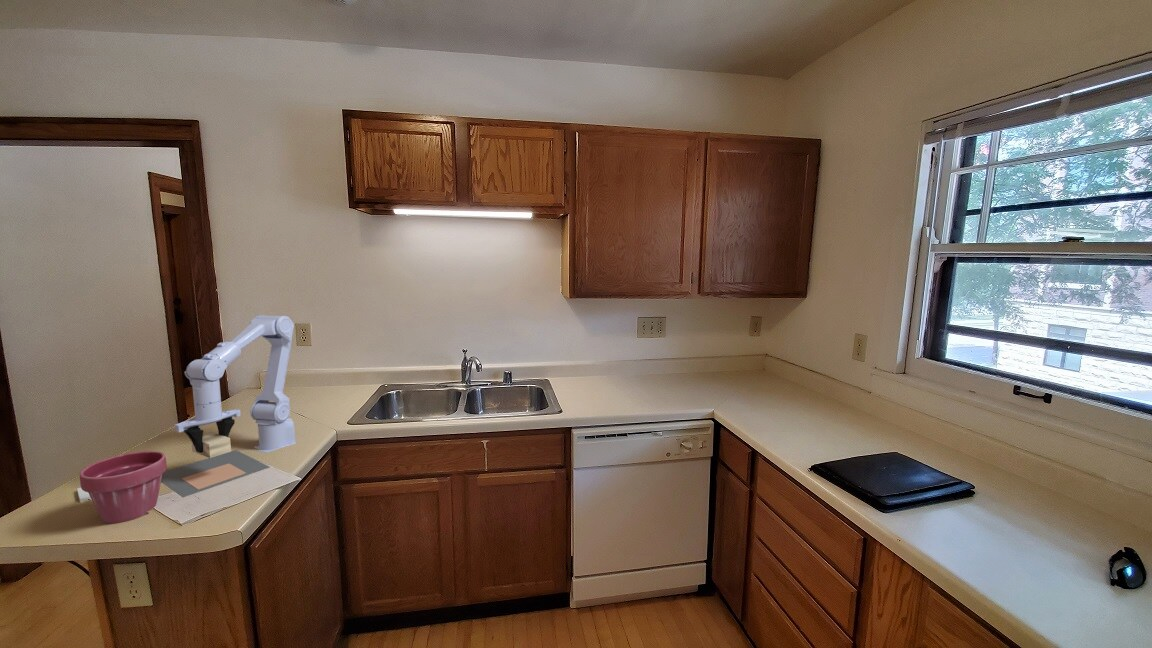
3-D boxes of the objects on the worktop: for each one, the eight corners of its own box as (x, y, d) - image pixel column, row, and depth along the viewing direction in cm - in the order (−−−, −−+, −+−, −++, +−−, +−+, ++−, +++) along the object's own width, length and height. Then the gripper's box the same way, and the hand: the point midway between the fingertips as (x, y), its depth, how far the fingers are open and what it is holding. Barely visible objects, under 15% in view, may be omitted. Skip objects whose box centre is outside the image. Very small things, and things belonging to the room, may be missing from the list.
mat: (236, 451, 137) (236, 449, 137) (270, 468, 126) (270, 466, 126) (152, 477, 120) (151, 474, 120) (183, 499, 109) (183, 496, 109)
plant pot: (149, 524, 98) (143, 472, 97) (68, 535, 94) (60, 481, 92) (182, 493, 112) (177, 447, 110) (112, 502, 107) (106, 454, 105)
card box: (231, 451, 120) (230, 437, 120) (210, 458, 116) (209, 444, 115) (213, 445, 124) (212, 432, 124) (192, 451, 120) (191, 438, 119)
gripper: (229, 393, 126) (232, 436, 128) (166, 406, 113) (171, 455, 115) (243, 396, 124) (246, 441, 125) (180, 410, 110) (185, 460, 112)
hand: (211, 448), depth 120 cm, fingers closed on card box, 5 cm apart
